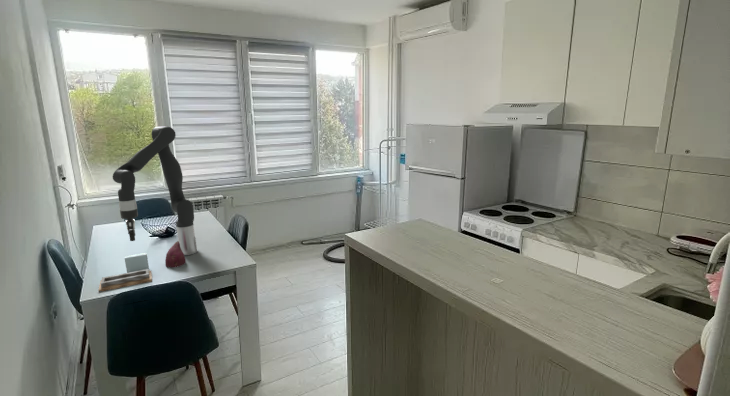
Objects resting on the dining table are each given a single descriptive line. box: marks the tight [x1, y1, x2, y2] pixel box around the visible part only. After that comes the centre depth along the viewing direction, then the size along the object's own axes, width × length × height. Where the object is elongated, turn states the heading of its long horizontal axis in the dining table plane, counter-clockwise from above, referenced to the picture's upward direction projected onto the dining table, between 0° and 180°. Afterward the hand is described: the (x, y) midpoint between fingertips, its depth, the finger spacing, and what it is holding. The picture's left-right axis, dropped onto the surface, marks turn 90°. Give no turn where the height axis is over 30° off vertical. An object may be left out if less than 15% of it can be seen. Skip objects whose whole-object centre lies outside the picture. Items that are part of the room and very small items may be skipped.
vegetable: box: [164, 240, 187, 269], centre depth 207 cm, size 10×10×15 cm
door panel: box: [124, 252, 150, 273], centre depth 198 cm, size 10×3×9 cm, turn 120°
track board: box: [98, 268, 153, 292], centre depth 186 cm, size 22×12×3 cm, turn 121°
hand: (132, 238), depth 194 cm, fingers open, 8 cm apart
